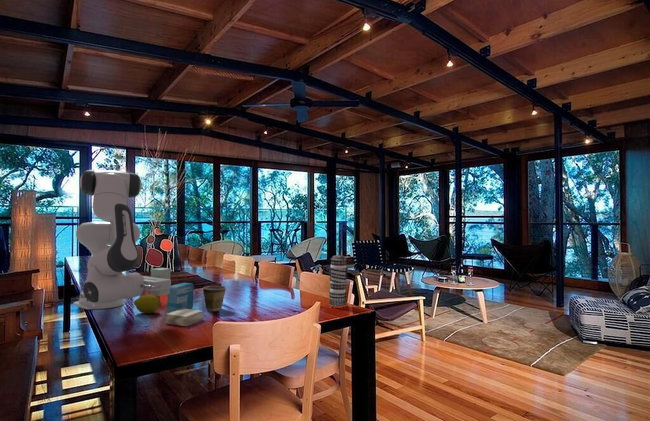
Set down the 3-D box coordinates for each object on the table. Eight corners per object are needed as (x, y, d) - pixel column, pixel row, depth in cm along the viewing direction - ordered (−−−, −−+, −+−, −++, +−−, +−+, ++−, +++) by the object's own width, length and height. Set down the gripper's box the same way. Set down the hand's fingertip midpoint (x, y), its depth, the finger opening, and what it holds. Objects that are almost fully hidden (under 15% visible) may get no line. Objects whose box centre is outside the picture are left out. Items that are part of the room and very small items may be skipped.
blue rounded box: (175, 315, 158) (176, 287, 158) (166, 314, 159) (167, 286, 160) (193, 309, 169) (194, 282, 170) (184, 308, 171) (185, 282, 171)
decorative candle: (344, 309, 176) (345, 257, 177) (325, 307, 179) (327, 256, 179) (348, 305, 185) (349, 255, 185) (330, 303, 188) (332, 254, 188)
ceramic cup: (228, 310, 169) (228, 288, 169) (206, 313, 163) (206, 290, 163) (218, 304, 179) (219, 283, 179) (197, 306, 174) (198, 285, 174)
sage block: (150, 294, 145) (151, 269, 145) (160, 292, 149) (161, 267, 150) (159, 295, 143) (160, 270, 143) (169, 293, 147) (170, 268, 148)
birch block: (165, 324, 146) (165, 313, 146) (182, 317, 156) (183, 308, 156) (186, 327, 143) (186, 316, 143) (202, 320, 152) (202, 310, 152)
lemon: (163, 312, 163) (164, 293, 163) (151, 316, 155) (152, 297, 155) (142, 310, 165) (143, 292, 165) (129, 314, 157) (130, 295, 158)
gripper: (153, 278, 130) (182, 274, 143) (113, 274, 139) (144, 269, 151) (152, 296, 130) (181, 290, 143) (112, 290, 138) (143, 285, 151)
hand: (162, 279), depth 147 cm, fingers closed on sage block, 5 cm apart
